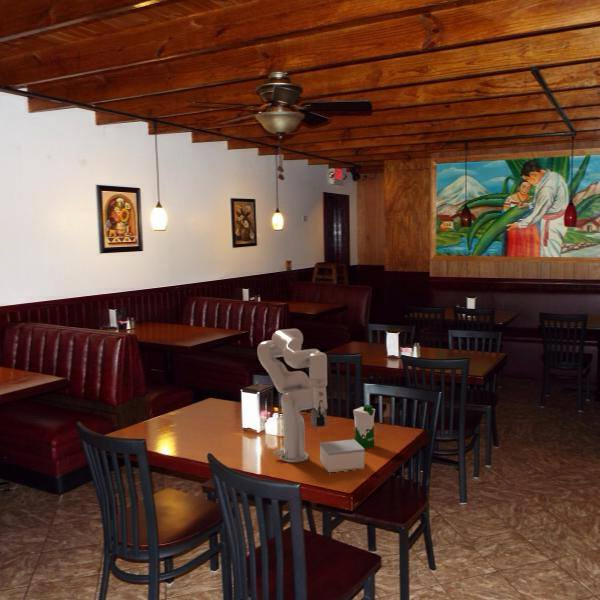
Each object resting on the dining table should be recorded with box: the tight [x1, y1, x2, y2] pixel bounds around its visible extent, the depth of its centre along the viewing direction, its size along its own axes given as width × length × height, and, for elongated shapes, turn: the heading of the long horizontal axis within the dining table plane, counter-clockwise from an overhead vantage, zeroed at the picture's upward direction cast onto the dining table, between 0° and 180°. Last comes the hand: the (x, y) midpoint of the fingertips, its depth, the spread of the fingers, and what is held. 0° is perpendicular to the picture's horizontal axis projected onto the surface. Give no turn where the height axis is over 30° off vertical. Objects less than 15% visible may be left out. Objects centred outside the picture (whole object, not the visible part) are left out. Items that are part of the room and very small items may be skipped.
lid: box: [318, 438, 366, 455], centre depth 270 cm, size 16×14×1 cm
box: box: [319, 445, 365, 474], centre depth 271 cm, size 16×14×8 cm
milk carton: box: [352, 404, 376, 450], centre depth 295 cm, size 9×9×20 cm
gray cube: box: [310, 408, 327, 428], centre depth 259 cm, size 6×6×6 cm
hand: (318, 422), depth 260 cm, fingers closed on gray cube, 6 cm apart
